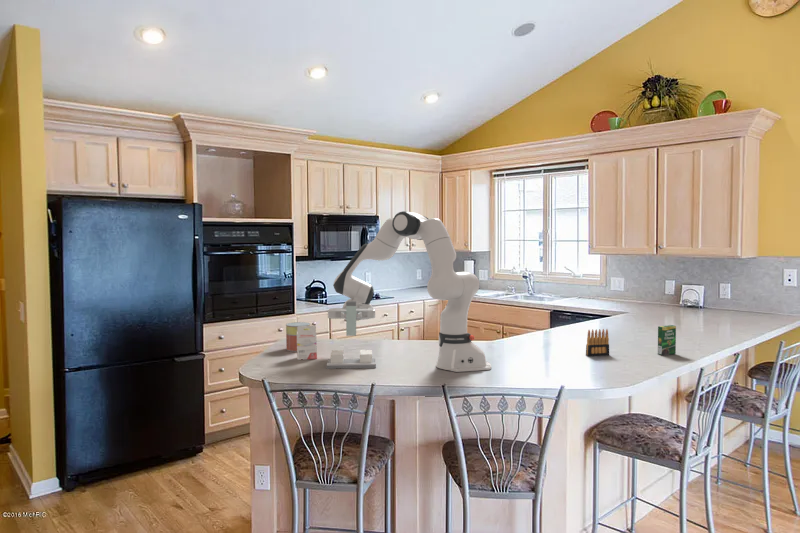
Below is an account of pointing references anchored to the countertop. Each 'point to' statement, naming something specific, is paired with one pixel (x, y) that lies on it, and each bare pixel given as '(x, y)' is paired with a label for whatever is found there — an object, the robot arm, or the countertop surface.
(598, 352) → the ammunition clip
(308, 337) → the ink cartridge box
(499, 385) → the countertop surface
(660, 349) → the coffee box
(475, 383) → the countertop surface
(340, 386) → the countertop surface
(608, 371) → the countertop surface
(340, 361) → the mounting board
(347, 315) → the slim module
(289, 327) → the canned food
